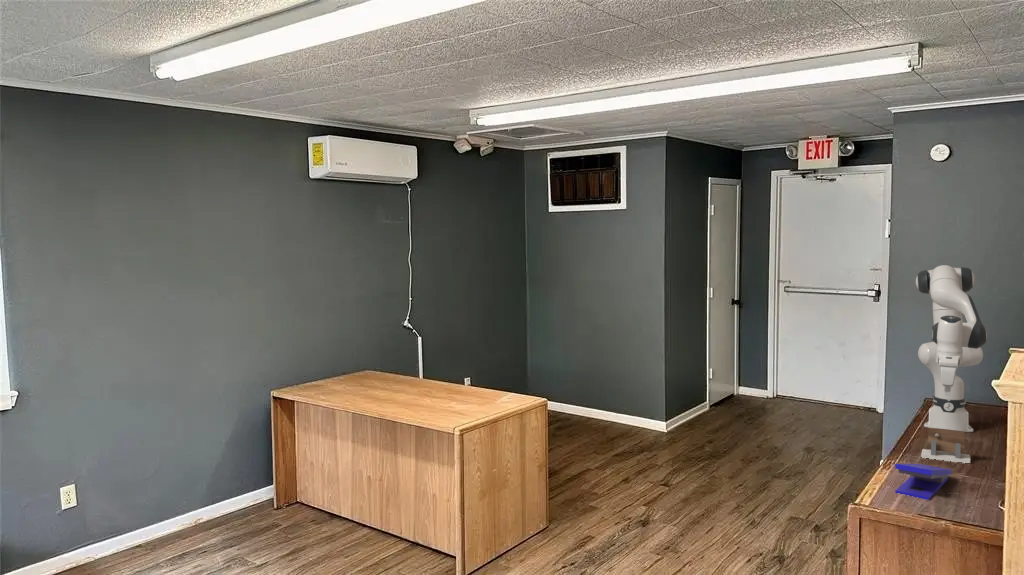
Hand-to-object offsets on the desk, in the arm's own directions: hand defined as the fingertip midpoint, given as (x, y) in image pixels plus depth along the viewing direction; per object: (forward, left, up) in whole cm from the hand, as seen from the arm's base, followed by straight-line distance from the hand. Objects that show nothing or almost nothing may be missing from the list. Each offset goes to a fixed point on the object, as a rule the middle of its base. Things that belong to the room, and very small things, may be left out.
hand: (947, 393), depth 283 cm
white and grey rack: (+6, 0, -24) cm, 25 cm away
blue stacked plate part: (+45, -6, -25) cm, 52 cm away
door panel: (+5, 0, -21) cm, 22 cm away
